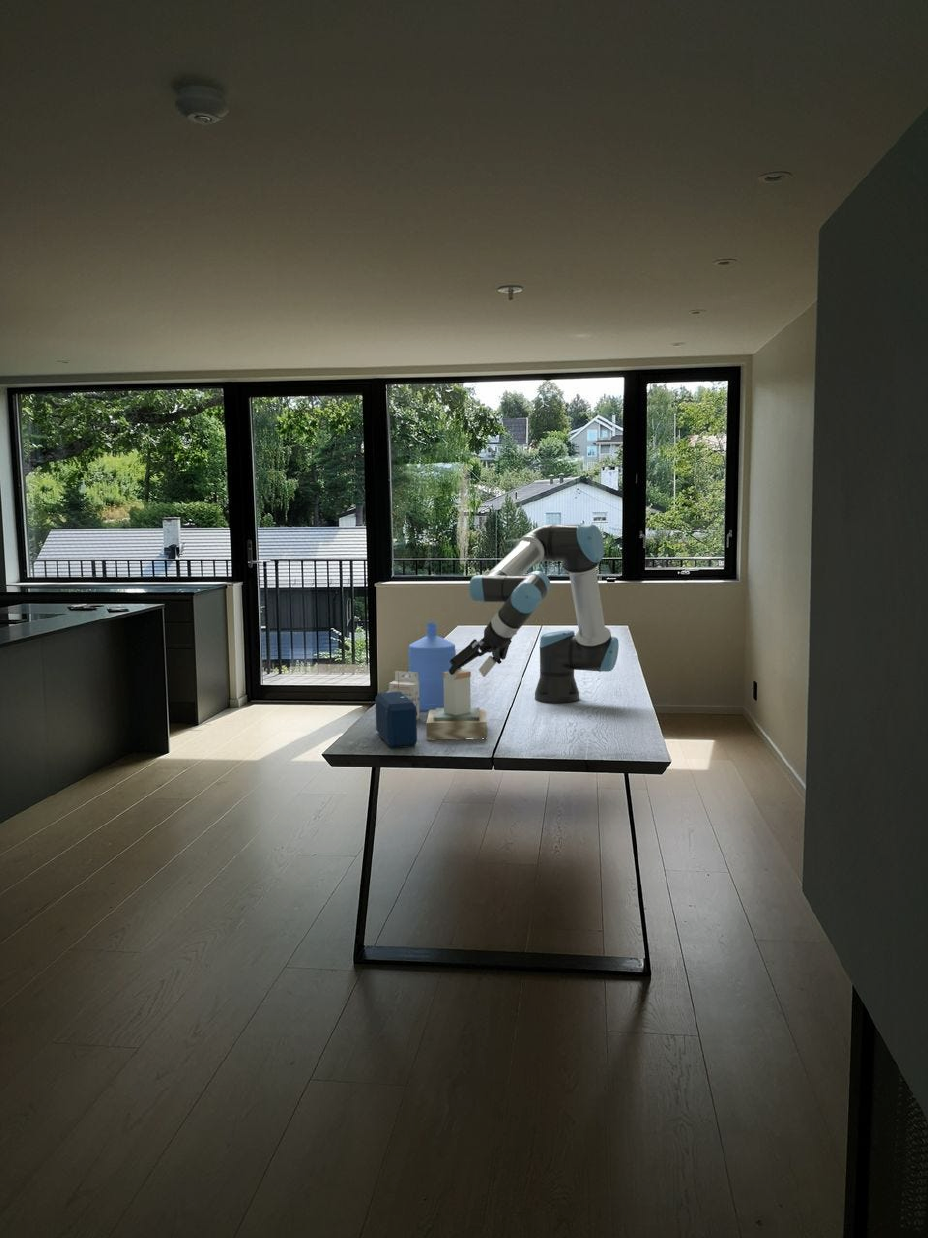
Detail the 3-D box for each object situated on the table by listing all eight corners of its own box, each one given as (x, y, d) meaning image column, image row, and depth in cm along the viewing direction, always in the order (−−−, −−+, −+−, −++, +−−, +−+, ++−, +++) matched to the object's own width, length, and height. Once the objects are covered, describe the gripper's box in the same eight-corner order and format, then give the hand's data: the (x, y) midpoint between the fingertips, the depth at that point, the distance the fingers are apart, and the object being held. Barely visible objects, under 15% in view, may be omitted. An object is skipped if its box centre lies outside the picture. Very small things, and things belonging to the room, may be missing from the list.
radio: (420, 747, 253) (419, 675, 251) (389, 750, 251) (388, 678, 249) (403, 730, 273) (402, 663, 271) (374, 732, 271) (373, 665, 269)
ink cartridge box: (388, 720, 287) (387, 673, 285) (395, 716, 292) (394, 670, 290) (414, 721, 284) (413, 674, 283) (420, 718, 289) (419, 672, 287)
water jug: (446, 713, 295) (445, 627, 291) (401, 710, 300) (399, 625, 297) (463, 704, 309) (462, 621, 306) (420, 701, 315) (418, 619, 311)
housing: (471, 712, 269) (470, 671, 268) (455, 715, 265) (455, 674, 264) (458, 709, 273) (458, 669, 272) (443, 712, 269) (442, 672, 267)
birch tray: (486, 725, 278) (486, 706, 277) (486, 739, 261) (486, 718, 260) (430, 725, 278) (429, 706, 278) (426, 739, 261) (426, 719, 261)
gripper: (476, 644, 242) (439, 693, 254) (539, 634, 259) (502, 680, 271) (462, 622, 245) (426, 671, 257) (525, 614, 262) (489, 660, 274)
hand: (464, 676), depth 264 cm, fingers open, 13 cm apart
